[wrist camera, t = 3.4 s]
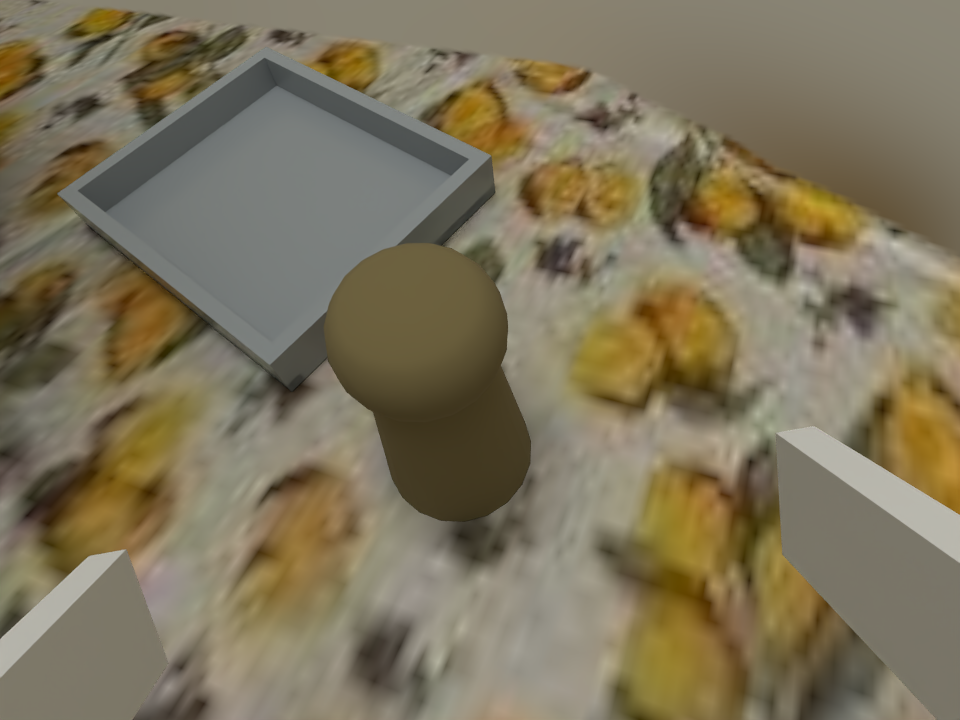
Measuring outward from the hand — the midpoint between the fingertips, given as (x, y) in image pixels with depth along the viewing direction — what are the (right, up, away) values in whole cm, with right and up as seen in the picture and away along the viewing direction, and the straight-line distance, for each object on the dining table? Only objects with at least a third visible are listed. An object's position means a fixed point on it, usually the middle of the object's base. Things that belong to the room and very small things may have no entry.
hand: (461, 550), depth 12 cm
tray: (-10, +12, +21) cm, 27 cm away
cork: (0, 0, +13) cm, 13 cm away
